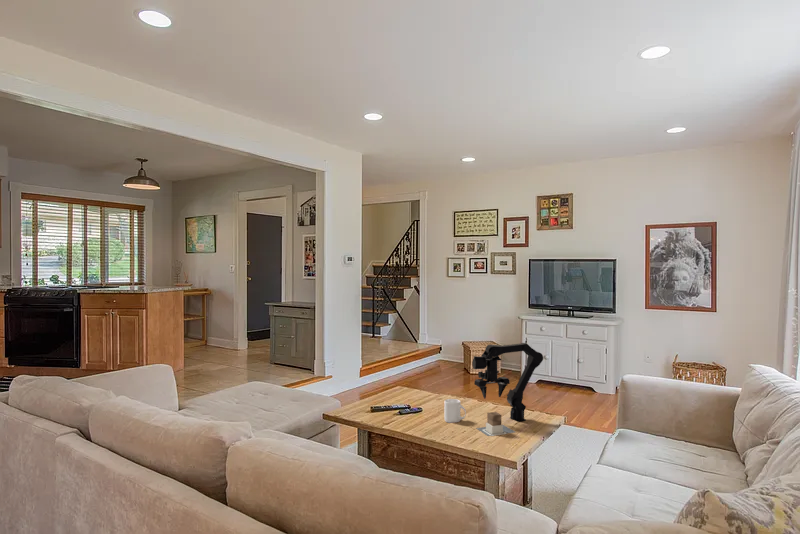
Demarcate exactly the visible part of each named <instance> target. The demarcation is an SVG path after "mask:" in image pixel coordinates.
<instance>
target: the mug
mask: <svg viewBox="0 0 800 534" xmlns="http://www.w3.org/2000/svg"><path fill="white" fill-rule="evenodd" d="M443 401H444V402H443V403H444V408H443V412H444V413H443V414H444V416H443V419H444V421H445V422H446V423H449V424H453V423H460V422H461V421H462V420H464V419H465V417H466V414H467V411H466V408H465V407H464V406H463V405H462V404H461V400H459V399H457V398H447V399H445V400H443ZM461 409H462V410H463V411H464V415H463V416H462V415H461Z"/></svg>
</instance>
